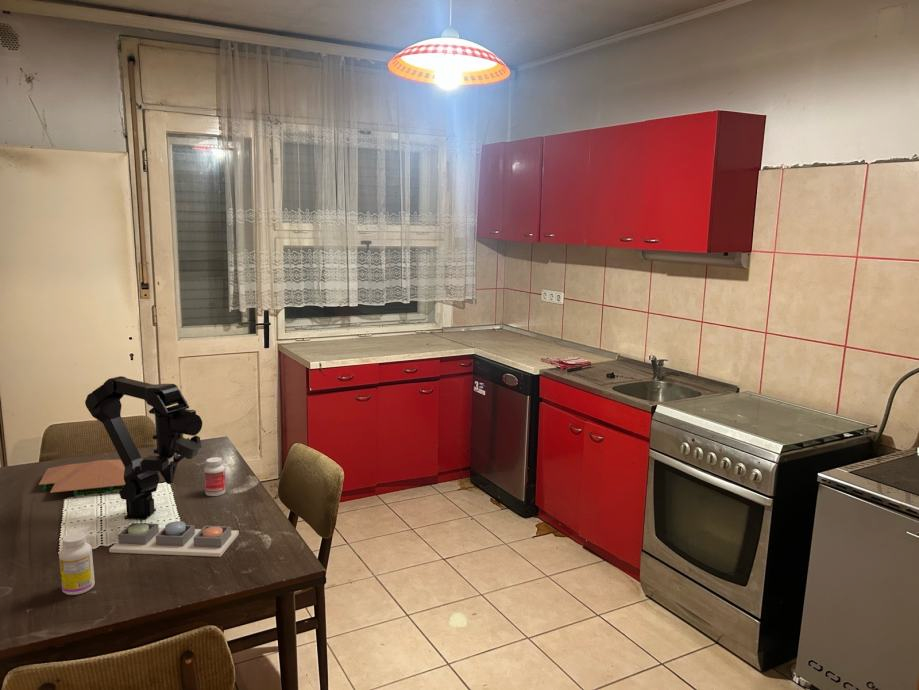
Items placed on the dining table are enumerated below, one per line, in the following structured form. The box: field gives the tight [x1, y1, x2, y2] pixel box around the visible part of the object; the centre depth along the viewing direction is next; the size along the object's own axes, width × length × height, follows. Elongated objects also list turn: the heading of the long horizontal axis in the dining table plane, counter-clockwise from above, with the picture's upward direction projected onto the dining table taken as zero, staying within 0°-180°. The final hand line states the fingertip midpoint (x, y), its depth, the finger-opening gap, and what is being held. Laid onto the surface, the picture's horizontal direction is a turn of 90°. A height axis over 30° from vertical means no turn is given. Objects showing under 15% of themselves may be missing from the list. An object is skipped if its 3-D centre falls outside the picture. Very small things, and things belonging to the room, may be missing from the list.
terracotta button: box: [203, 527, 223, 537], centre depth 180 cm, size 5×5×2 cm
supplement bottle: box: [58, 532, 96, 596], centre depth 157 cm, size 7×7×13 cm
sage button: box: [128, 524, 149, 534], centre depth 181 cm, size 5×5×2 cm
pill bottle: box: [203, 456, 227, 497], centre depth 214 cm, size 6×6×11 cm
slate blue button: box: [164, 520, 186, 536], centre depth 180 cm, size 5×5×2 cm
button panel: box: [108, 522, 240, 558], centre depth 181 cm, size 29×13×4 cm, turn 88°
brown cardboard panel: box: [38, 459, 125, 499], centre depth 220 cm, size 23×33×8 cm
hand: (169, 483), depth 191 cm, fingers closed
